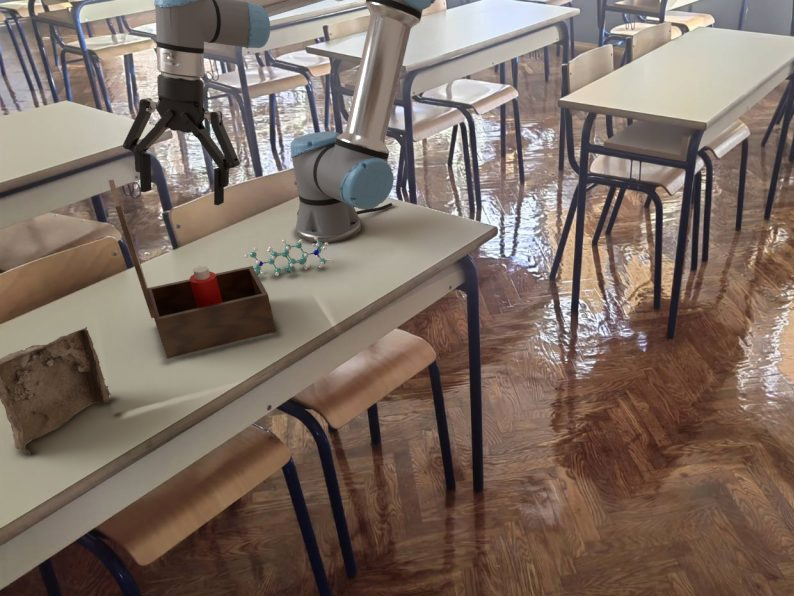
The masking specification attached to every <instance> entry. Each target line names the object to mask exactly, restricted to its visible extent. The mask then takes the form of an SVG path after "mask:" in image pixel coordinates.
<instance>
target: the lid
mask: <svg viewBox="0 0 794 596" xmlns="http://www.w3.org/2000/svg"><path fill="white" fill-rule="evenodd" d="M108 186H109V188H110V192H111V196H112V200H113V204H114V207H115V212H116V214H117V218H118V220H119V223H120V226H121V230H122V232H123V236H124V238H125V241H126V245H127V248H128V251H129V254H130V257H131V259H132V260H131V261H132V262H133V267H134V269H135V272H136V275H137V278H138V281H139V285H140V288H141V291H142V294H143V297H144V300H145V303H146V306H147V309H148V313H149V315H150V318H151V319H154V318H155V317H156V315H155V311H154V308H153V304H152V300H151V297H150V293H149V290H148V288H149V286H148V283H147V280H146V277H145V273H144V271H143V267H142V265H141V262H140V258H139V255H138V252H137V248H136V246H135V242H134V240H133V236H132V234H131V233H132V232H131V230H130V227H129V224H128V220H127V218H126V214H125V211H124V208H123V205H122V202H121V198H120V195H119V193H118V189H117V186H116V183H115V180H114V179H108Z"/></svg>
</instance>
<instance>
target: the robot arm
mask: <svg viewBox="0 0 794 596" xmlns="http://www.w3.org/2000/svg"><path fill="white" fill-rule="evenodd" d="M324 1H325V0H154V2H153V4H154V10H155V30H156V31H155V33H156V35H155V37H156V70H157V71H158V72H159V73H160V74H158V75H157V77H156V78H157V79H156V82H157V87H156V88H157V101H154V100H153V99H152V98H149V97H147V98H141V99H140V100H139V102H138V103H139V104H138V105H139V106H138V112H137V115H136V117H135V118H134V121H133V122H132V125H131V126H130V129H129V131H128V133H127V135H126V137H125V139H124V141H123V144H122V147H123V149H125V150H128V151H130V152H131V153H132V154H133V156H134V170H135V172H136V173H139V185H140V186H139V187H140V189H139V191H140V193H148V192H149V191H152V188H153V187H152V161H151V160H152V159H151V154H149V153H148V150H150V148H151V147H152V146H153V145H154V144H155V143H156V141H158V139H159V138H160V137H161V136H162V135H163V134H164V133H165V132H166V131H167V130H168V129H169V130H170V131H173V132H178V131H179V132H182V133H184V134H190V133H192V135H193V136H194V137H195V138H196V139H197V140H198V141H199V142H200V144H201V145H202V147H203V148H204V150H205V151H206V152H207V153H208V155H209V156H210V158H211V159H212V161H213V162H214V163H215V165H216V166H217V167H216V168H214V169H213V205H214V206H220V205H222V204H224V203H225V188H227V187H228V186H229V184H230V169H234V168H236V167H238V166H240V165H241V161H240V160H239V158H238V154H237V152H236V150H235V148H234V145H233V143H232V141H231V139H230V137H229V134H228V132H227V129H226V128H225V125H224V117H223V113H222V111H221V110H215V111H209V110H208V111H207V110H206V109H205V105H204V103H205V82H204V80H202V79H201V78H203V77H204V76H205V55H204V54H205V43H208V44H219V45H226V46H232V47H239V48H245V49H261V48H263V47H265V46H266V45H267V43H268V41H269V39H270V35H271V21H270V18H271V17H274V16H277V15H281V14H285V13H288V12H290V11H294V10H298V9H301V8H304V7H308V6H310V5H314V4H317V3H320V2H324ZM335 1H336V2H343V1H344V0H335ZM435 2H436V0H365V6H366V8H367V10H368V12H369V14H370V17H369V21H368V26H367V30H366V35H365V39H364V45H363V49H362V54H361V59H360V63H359V68H358V71H357V77H356V81H355V86H354V89H353V90H354V91H353V96H352V101H351V105H350V109H349V114H348V118H347V122H346V127H345V130H344V132H341V134H340V133H339V132H338V131H337V132H336V131H318V132H312V133H307V134H303V135H300V136H297V137H296V138H294V139H293V140H291V142H290V158H291V162H292V166H293V172H294V178H295V182H296V189H297V194H298V200H299V205H298V210H297V214H296V225H295V227H296V234H297V236H298V237H299V238H300V239H302V240H303V241H306V242H310V243H314V244H316V243H317V240H315V239H314V238H315V237H318V242H319V241H320V242H322V244H325V243H326V242H327V243H328V244H331V243H338V242H342V241H345V240H348V239H350V238H353V237H354V236H356V235H357V234H359V233H360V232H361V229H362V225H361V224H362V223H361V219H360V216H359V215H363V214H367V213H375V212H379V211H382V210H386V209H388V208H391V207H393V203H392V202H390V203H386V204H385V205H382V206H379V205H380V204H383V203H384V202H385V201H386V200H387V198H388V197H389V195H390V194H391V191H392V190H393V186H394V173H393V172H392V170H393V169H392V167H391V166H390V164H389V163H388V160H389V156H390V151H389V148H388V147H387V145H386V138H387V133H388V128H389V124H390V120H391V116H392V111H393V109H394V108H393V107H394V103H395V100H396V99H395V98H396V94H397V92H398V91H397V90H398V86H399V81H400V77H401V73H402V68H403V64H404V61H405V56H406V51H407V47H408V42H409V39H410V33H411V31H412V30H411V29H412V28H413V27H415V26H417V25H418V24H420V23H421V20H422V16H423V11H424V10H426V9H428V8H430V7H432V4H435ZM156 111H157V113H158V115H159V117H160V118H159V120H158V121H157V122H156V123H155V124H154V126H153V127H152V128H151V129H150V131H148V132H147V134H146V135H145V136H144V137H143V138H142V139H141V136H142V135H143V132H144V131H145V128H146V127H147V124H148V122H149V121H150V119H151V116H152V114H153V113H155V112H156ZM205 120H207V122H208V123H209V124H210V125H211V129H212V131H213V134H214V135H215V138H216V140H217V143H218V145H219V146H220V148H219V146H218V145H217V143H216V141H214V139H213V138H212V137H211V135H210V133H208V129H207V128H206V126H205V125H204V124H203V122H204V121H205ZM140 139H141V140H140ZM355 208H356V209H360V210H356V209H355Z"/></svg>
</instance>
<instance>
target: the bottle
mask: <svg viewBox="0 0 794 596" xmlns="http://www.w3.org/2000/svg"><path fill="white" fill-rule="evenodd" d="M192 272H193V274H192V275H191V276H189V279H190V283H191V287H192V290H193V294H194V297H195V301H196V304H197V308H201V307H205V306H209V305H214V304H218V303H223V302H222V298H221V294H220V290H219V286H218V282H217V278H216V273H215V272H213V271H209V267H208V266H206V265H199V266H196V267H194V268H193V269H192Z"/></svg>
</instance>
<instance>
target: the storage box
mask: <svg viewBox="0 0 794 596" xmlns="http://www.w3.org/2000/svg"><path fill="white" fill-rule="evenodd" d="M215 274H216V278H217V282H218V286H219V290H220V294H221V298H222V302H223V303H218V304H214V305H209V306H205V307H201V308H197V304H196V301H195V297H194V294H193V290H192V287H191V283H190V278H188V279H183V280H180V281H179V280H178V281H175V282H174V281H173V282H170V283H166V284H159V285H156V286H151V287H148V290H149V293H150V297H151V300H152V304H153V308H154V311H155V315H156V317H155V318H153V320H154V323H155V326H156V329H157V332H158V335H159V338H160V341H161V344H162V348H163V351H164V353H165V357H166V359H170V358H175V357H178V356H182V355H186V354H190V353H194V352H199V351H203V350H206V349H210V348H214V347H219V346H222V345H227V344H231V343H236V342H239V341H243V340H247V339H251V338H256V337H260V336H263V335H268V334H273V333H275V332H277V329H276V324H275V320H274V316H273V311H272V307H271V301H270V297H269V294H268V292H267V290H266V288H265V286H264V285H263V283H262V280H261V278H260V277H259V274H257V273H256V272H255V269H254V266H253V265H250V266H245V267H241V268H235V269H231V270H225V271H222V272H217V273H215Z"/></svg>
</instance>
